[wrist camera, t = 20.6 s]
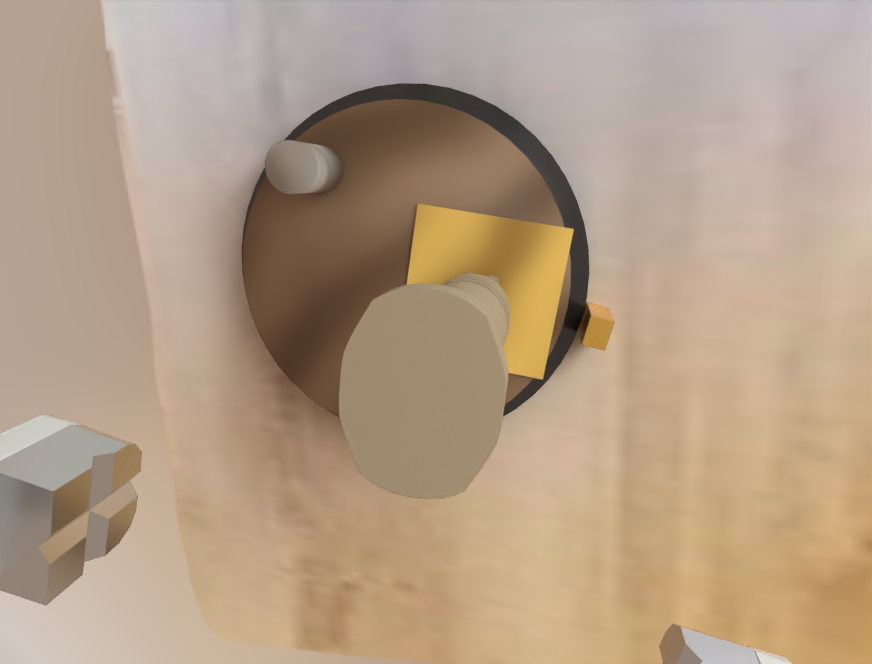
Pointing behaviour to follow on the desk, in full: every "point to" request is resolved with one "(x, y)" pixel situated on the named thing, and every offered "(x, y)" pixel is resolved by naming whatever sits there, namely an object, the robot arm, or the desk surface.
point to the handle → (427, 385)
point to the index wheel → (399, 234)
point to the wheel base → (595, 317)
